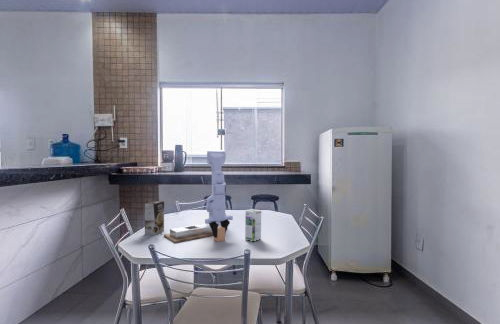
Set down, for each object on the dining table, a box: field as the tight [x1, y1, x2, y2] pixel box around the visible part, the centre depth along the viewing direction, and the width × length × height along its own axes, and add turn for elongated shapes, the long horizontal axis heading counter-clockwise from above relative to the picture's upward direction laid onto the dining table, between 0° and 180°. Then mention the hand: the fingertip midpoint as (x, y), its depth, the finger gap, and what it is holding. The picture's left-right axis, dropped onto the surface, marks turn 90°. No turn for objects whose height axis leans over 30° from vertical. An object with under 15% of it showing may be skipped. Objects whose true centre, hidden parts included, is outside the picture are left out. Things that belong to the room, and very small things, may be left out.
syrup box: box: [244, 208, 262, 242], centre depth 135 cm, size 6×6×14 cm
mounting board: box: [163, 232, 213, 244], centre depth 142 cm, size 24×14×1 cm, turn 128°
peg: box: [213, 226, 226, 242], centre depth 134 cm, size 4×4×6 cm
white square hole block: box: [169, 223, 212, 239], centre depth 142 cm, size 20×8×3 cm, turn 128°
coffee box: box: [144, 200, 165, 236], centre depth 147 cm, size 9×6×16 cm
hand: (219, 236), depth 134 cm, fingers closed on peg, 4 cm apart
